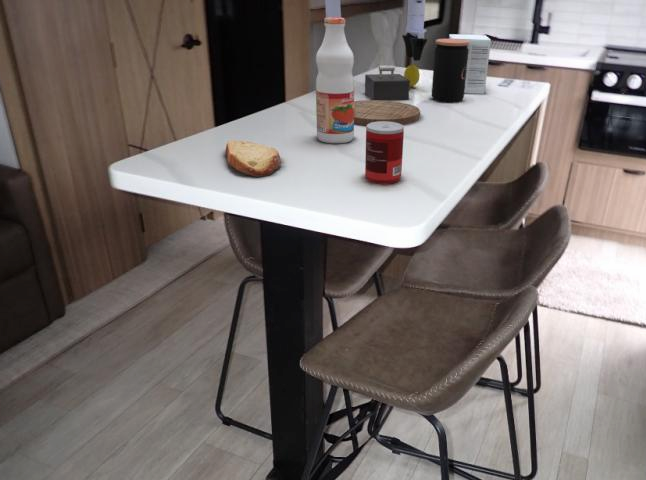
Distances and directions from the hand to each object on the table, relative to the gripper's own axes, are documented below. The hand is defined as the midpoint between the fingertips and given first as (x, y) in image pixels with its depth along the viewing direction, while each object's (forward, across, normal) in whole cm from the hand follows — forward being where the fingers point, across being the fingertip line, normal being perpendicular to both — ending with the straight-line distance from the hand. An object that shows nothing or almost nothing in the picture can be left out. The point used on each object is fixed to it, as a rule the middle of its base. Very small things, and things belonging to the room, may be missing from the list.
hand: (413, 58), depth 206 cm
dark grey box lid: (+5, -12, +13) cm, 18 cm away
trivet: (+10, -38, +22) cm, 45 cm away
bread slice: (+10, -77, +62) cm, 100 cm away
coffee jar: (+10, -19, -6) cm, 22 cm away
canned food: (+10, -93, +36) cm, 100 cm away
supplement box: (+10, -4, -18) cm, 21 cm away
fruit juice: (+10, -61, +40) cm, 73 cm away
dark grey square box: (+10, -12, +12) cm, 20 cm away
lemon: (+10, +2, 0) cm, 11 cm away
